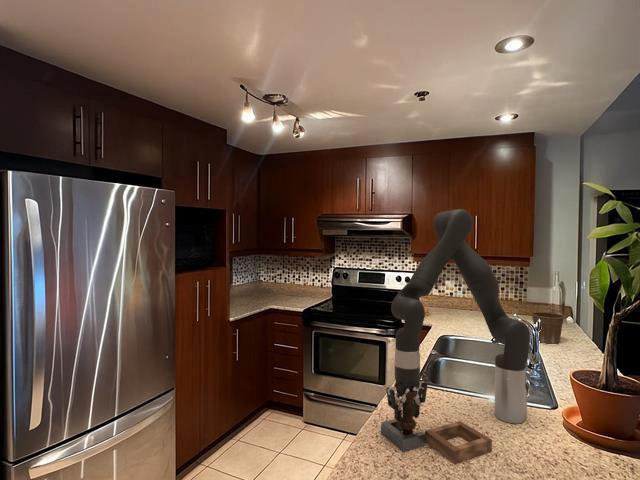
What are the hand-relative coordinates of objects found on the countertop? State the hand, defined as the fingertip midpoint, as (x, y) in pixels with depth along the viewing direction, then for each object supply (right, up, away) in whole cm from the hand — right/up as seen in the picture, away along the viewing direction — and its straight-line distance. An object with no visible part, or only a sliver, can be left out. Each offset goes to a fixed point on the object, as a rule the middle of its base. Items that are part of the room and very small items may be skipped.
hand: (406, 418), depth 118 cm
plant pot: (+102, -4, +102) cm, 144 cm away
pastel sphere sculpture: (+44, -3, +173) cm, 178 cm away
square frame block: (+14, -6, -4) cm, 16 cm away
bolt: (0, -6, 0) cm, 6 cm away
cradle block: (-1, -6, -1) cm, 6 cm away
